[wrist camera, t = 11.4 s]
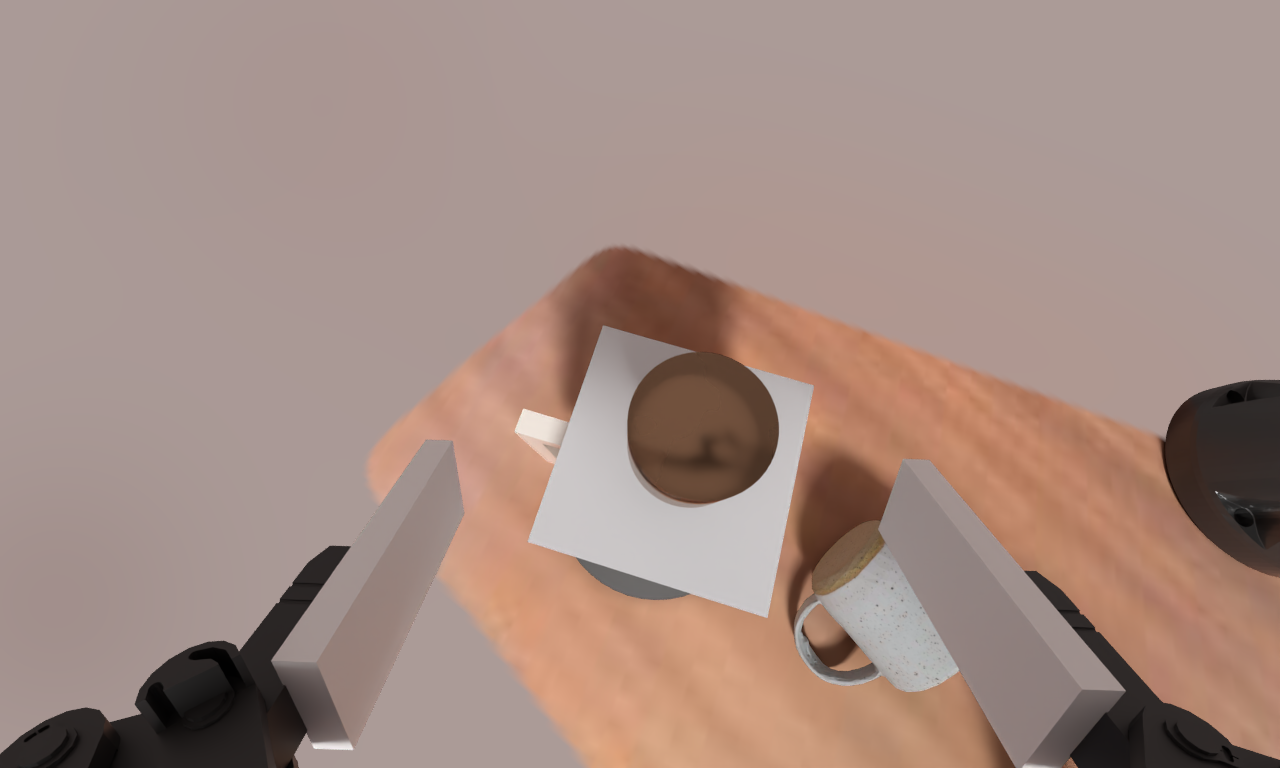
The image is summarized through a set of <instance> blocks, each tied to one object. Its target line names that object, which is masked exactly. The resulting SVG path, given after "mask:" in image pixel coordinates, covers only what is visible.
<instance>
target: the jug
mask: <svg viewBox="0 0 1280 768" xmlns="http://www.w3.org/2000/svg"><path fill="white" fill-rule="evenodd" d="M691 352H695V351H692V350H688V349H685V348H681V347H678V346H674V345H671V344H667V343H664V342H660V341H657V340H653V339H650V338H646V337H643V336H639V335H636V334H632V333H629V332H625V331H622V330H618V329H615V328H611V327H608V326H604V325H603V327H602V330H601V333H600V336H599V339H598V342H597V344H596V347H595V350H594V353H593V356H592V359H591V362H590V365H589V367H588V370H587V373H586V376H585V379H584V382H583V385H582V387H581V390H580V393H579V396H578V399H577V402H576V405H575V407H574V410H573V413H572V416H571V419H570V422H566V421H563V420H559V419H556V418H553V417H549V416H546V415H543V414H539V413H536V412H533V411H529V410H526V409H523V411H522V413H521V416H520V419H519V421H518V424H517V427H516V429H515V433H516V434H517V435H519V436H520V437H521V438H522V439H523V440H524V441H525V442H526V443H527V444H528V445H530V446H531V447H532V448H533V449H534V450H535V451H536V452H537V453H538V454H539V455H541V456H542V457H543V458H544V459H545V460H546V461H547V462H550V463H553V464H555V465H554V468H553V470H552V473H551V476H550V479H549V482H548V485H547V488H546V491H545V493H544V496H543V499H542V502H541V505H540V508H539V511H538V513H537V516H536V519H535V522H534V525H533V528H532V531H531V533H530V536H529V539H528V542H530V543H533V544H536V545H539V546H542V547H545V548H549V549H552V550H555V551H558V552H561V553H564V554H568V555H571V556H574V557H577V558H580V559H583V560H586V561H590V562H593V563H596V564H599V565H602V566H605V567H608V568H612V569H615V570H618V571H621V572H624V573H627V574H631V575H634V576H637V577H640V578H643V579H646V580H649V581H653V582H656V583H659V584H662V585H665V586H668V587H671V588H675V589H678V590H681V591H684V592H687V593H690V594H693V595H697V596H700V597H703V598H706V599H709V600H712V601H716V602H719V603H722V604H725V605H728V606H731V607H734V608H738V609H741V610H744V611H747V612H750V613H753V614H756V615H760V616H763V617H766V618H767V617H768V612H769V607H770V602H771V597H772V592H773V587H774V582H775V577H776V572H777V567H778V562H779V557H780V552H781V547H782V542H783V537H784V532H785V527H786V522H787V517H788V513H789V508H790V503H791V498H792V493H793V488H794V483H795V478H796V473H797V468H798V463H799V458H800V453H801V448H802V443H803V438H804V433H805V428H806V423H807V418H808V413H809V408H810V403H811V398H812V393H813V388H814V385H810V384H807V383H803V382H800V381H796V380H793V379H789V378H786V377H782V376H779V375H775V374H772V373H768V372H765V371H761V370H758V369H754V368H751V367H747V366H745V367H747V368H748V369H749V370H751V371H752V372H753V373H754V374H755V375H756V376H757V377H758V378H759V379H760V380H761V381H762V383H763V384H764V385H765V387H766V388H767V390H768V391H769V393H770V395H771V397H772V399H773V402H774V404H775V407H776V411H777V415H778V421H779V439H778V445H777V449H776V452H775V455H774V457H773V460H772V462H771V464H770V466H769V467H768V469H767V470H766V472H765V473H764V474H763V475H762V477H761V478H760V479H759V480H758V481H757V482H756V483H755V484H754V485H752V486H751V487H750V488H748V489H747V490H745V491H744V492H742V493H740V494H737V495H735V496H733V497H730V498H727V499H725V500H722V501H719V502H716V503H713V504H710V505H707V506H703V507H698V508H684V507H678V506H673V505H670V504H668V503H665V502H663V501H661V500H659V499H657V498H656V497H655V496H653V495H652V494H650V493H649V492H648V491H647V490H646V489H645V488H644V487H643V486H642V484H641V483H640V482H639V481H638V479H637V477H636V476H635V474H634V472H633V470H632V467H631V465H630V461H629V457H628V451H627V419H628V410H629V406H630V402H631V399H632V397H633V394H634V392H635V390H636V388H637V387H638V385H639V383H640V382H641V381H642V379H643V378H644V377H645V376H646V375H647V374H648V373H649V372H650V371H651V370H652V369H653V368H654V367H656V366H657V365H658V364H660V363H662V362H663V361H665V360H667V359H669V358H672V357H674V356H677V355H681V354H685V353H691Z"/></svg>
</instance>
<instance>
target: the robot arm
mask: <svg viewBox="0 0 1280 768" xmlns="http://www.w3.org/2000/svg"><path fill="white" fill-rule="evenodd" d="M1165 454H1166V463H1167V468H1168V473H1169V476H1170V479H1171V482H1172V485H1173V487H1174V490H1175V492H1176V494H1177V496H1178V498H1179V500H1180V502H1181V504H1182V505H1183V507H1184V509H1185V510H1186V512H1187V513H1188V515H1189V516H1190V517H1191V519H1192V520H1193V522H1194V523H1195V524H1196V525H1197V526H1198V528H1199V529H1200V530H1201V531H1202V532H1203V533H1204V534H1205V535H1206V536H1207V537H1208V538H1209V539H1210V540H1211V541H1212V542H1213V543H1214V544H1215V545H1217V546H1218V547H1219V548H1220V549H1222V550H1223V551H1224V552H1225V553H1227V554H1228V555H1230V556H1231V557H1233V558H1234V559H1236V560H1237V561H1239V562H1241V563H1243V564H1244V565H1246V566H1248V567H1250V568H1253V569H1255V570H1257V571H1260V572H1262V573H1265V574H1268V575H1272V576H1275V577H1280V380H1254V381H1244V382H1238V383H1234V384H1229V385H1225V386H1221V387H1217V388H1213V389H1209V390H1206V391H1203V392H1200V393H1198V394H1196V395H1194V396H1192V397H1191V398H1189V399H1188V400H1187V401H1185V402H1184V403H1183V404H1182V405H1181V406H1180V408H1179V409H1178V410H1177V411H1176V413H1175V414H1174V416H1173V418H1172V420H1171V422H1170V424H1169V427H1168V431H1167V435H1166V443H1165ZM463 515H464V508H463V502H462V495H461V489H460V483H459V477H458V471H457V465H456V458H455V452H454V446H453V441H448V440H425V442H424V443H423V445H422V446H421V448H420V449H419V450H418V452H417V453H416V455H415V456H414V457H413V459H412V460H411V462H410V463H409V465H408V466H407V467H406V469H405V470H404V472H403V473H402V475H401V476H400V477H399V479H398V480H397V482H396V483H395V485H394V486H393V487H392V489H391V490H390V492H389V493H388V495H387V496H386V497H385V499H384V500H383V502H382V503H381V505H380V506H379V507H378V509H377V510H376V512H375V513H374V515H373V516H372V517H371V519H370V521H369V522H368V523H367V525H366V526H365V527H364V529H363V530H362V532H361V533H360V534H359V536H358V537H357V539H356V541H355V542H354V543H353V544H352V546H329V547H328V548H327V549H325V550H324V551H323V552H321V553H320V554H319V555H317V556H316V557H315V558H313V559H312V560H311V561H310V562H308V563H307V565H306V566H305V567H304V568H303V570H302V571H301V572H300V574H299V575H298V576H297V578H296V579H295V580H294V581H293V585H292V586H291V587H289V588H288V589H287V590H286V592H285V593H284V594H283V596H282V597H281V598H280V602H279V603H276V605H275V606H274V607H273V609H272V610H271V611H270V612H269V614H268V615H267V616H266V618H265V619H264V620H263V621H262V623H261V624H260V626H259V627H258V628H257V629H256V631H255V632H254V633H253V635H252V636H251V637H250V638H249V640H248V641H247V642H246V643H245V645H244V646H243V647H242V649H241V650H240V651H238V649H237V647H236V645H234V644H231V643H228V642H226V641H215V642H206V643H203V644H200V645H197V646H194V647H191V648H188V649H187V650H185V651H183V652H181V653H180V654H178V655H176V656H174V657H173V658H171V659H169V660H168V661H167V662H165V663H164V664H163V665H162V666H161V667H159V668H158V669H157V670H156V671H155V672H153V673H152V674H151V676H150V677H149V678H148V679H147V681H146V682H145V683H144V685H143V686H142V687H141V688H140V690H139V693H138V696H137V699H136V702H135V705H136V707H137V708H138V709H139V711H140V712H141V714H140V715H136V716H132V717H128V718H125V719H121V720H117V721H113V722H109V721H108V720H107V719H106V718H105V717H104V715H103V714H102V713H101V711H100V710H96V709H91V708H81V709H76V710H71V711H67V712H64V713H62V714H60V715H57V716H55V717H53V718H51V719H48V720H46V721H44V722H42V723H41V724H39V725H37V726H36V727H34V728H33V729H31V730H30V731H28V732H26V733H25V734H23V735H22V736H20V737H19V738H18V739H17V740H16V741H15V742H14V743H12V744H11V745H10V746H9V747H8V748H7V749H6V750H4V751H3V752H2V753H1V754H0V768H299V767H298V762H297V760H296V758H295V756H294V754H295V752H296V750H297V748H298V746H299V745H300V743H301V741H302V739H303V738H304V736H305V734H306V733H307V735H308V737H309V739H310V741H311V743H312V745H313V747H314V749H341V750H354V748H355V746H356V744H357V742H358V739H359V737H360V735H361V733H362V731H363V729H364V727H365V725H366V722H367V720H368V718H369V716H370V714H371V712H372V710H373V708H374V705H375V703H376V701H377V699H378V697H379V695H380V693H381V690H382V688H383V686H384V684H385V682H386V680H387V678H388V675H389V673H390V671H391V669H392V667H393V665H394V663H395V661H396V658H397V656H398V654H399V652H400V650H401V648H402V646H403V643H404V641H405V639H406V637H407V635H408V633H409V631H410V628H411V626H412V624H413V622H414V620H415V618H416V616H417V613H418V611H419V609H420V607H421V605H422V603H423V601H424V599H425V596H426V594H427V592H428V590H429V588H430V586H431V584H432V582H433V579H434V577H435V575H436V573H437V571H438V569H439V567H440V564H441V562H442V560H443V558H444V556H445V554H446V552H447V549H448V547H449V545H450V543H451V541H452V539H453V537H454V535H455V532H456V530H457V528H458V526H459V524H460V522H461V520H462V517H463ZM878 530H879V532H880V534H881V535H882V537H883V539H884V541H885V542H886V544H887V546H888V548H889V549H890V551H891V553H892V554H893V556H894V558H895V560H896V561H897V563H898V565H899V567H900V568H901V570H902V572H903V574H904V575H905V577H906V579H907V580H908V582H909V584H910V586H911V587H912V589H913V591H914V593H915V594H916V596H917V598H918V599H919V601H920V603H921V605H922V606H923V608H924V610H925V612H926V613H927V615H928V617H929V619H930V620H931V622H932V624H933V625H934V627H935V629H936V631H937V632H938V634H939V636H940V638H941V639H942V641H943V643H944V644H945V646H946V648H947V650H948V651H949V653H950V655H951V657H952V658H953V660H954V662H955V664H956V665H957V667H958V669H959V670H960V672H961V674H962V676H963V677H964V679H965V681H966V683H967V684H968V686H969V688H970V689H971V691H972V693H973V695H974V696H975V698H976V700H977V702H978V703H979V705H980V707H981V709H982V710H983V712H984V714H985V715H986V717H987V719H988V721H989V722H990V724H991V726H992V728H993V729H994V731H995V733H996V735H997V736H998V738H999V740H1000V741H1001V743H1002V745H1003V747H1004V748H1005V750H1006V752H1007V754H1008V755H1009V757H1010V759H1011V760H1012V762H1013V764H1014V766H1015V767H1016V768H1062V766H1063V765H1064V764H1065V763H1066V762H1067V761H1068V759H1069V758H1070V757H1071V758H1072V759H1073V761H1074V762H1075V764H1076V765H1077V767H1078V768H1280V760H1278V759H1275V758H1272V757H1269V756H1265V755H1262V754H1259V753H1256V752H1253V751H1250V750H1247V749H1244V748H1240V747H1237V746H1234V745H1232V744H1231V743H1230V742H1229V741H1228V739H1227V738H1225V737H1224V736H1223V735H1222V734H1221V733H1219V732H1218V731H1217V730H1216V729H1215V728H1213V727H1212V726H1211V725H1210V724H1209V723H1207V722H1205V721H1204V720H1202V719H1201V718H1199V717H1197V716H1196V715H1194V714H1192V713H1191V712H1189V711H1187V710H1184V709H1182V708H1179V707H1177V706H1174V705H1172V704H1168V703H1163V702H1162V701H1161V700H1160V699H1159V698H1158V697H1157V696H1156V695H1155V694H1154V693H1153V692H1152V690H1151V689H1150V688H1149V687H1148V686H1147V685H1146V684H1145V683H1144V682H1143V680H1142V679H1141V678H1140V677H1139V676H1138V675H1137V674H1136V673H1135V672H1134V670H1133V669H1132V668H1131V667H1130V666H1129V665H1128V664H1127V663H1126V661H1125V660H1124V659H1123V658H1122V657H1121V656H1120V655H1119V654H1118V653H1117V651H1116V650H1115V649H1114V648H1113V647H1112V646H1111V645H1110V644H1109V643H1108V641H1107V640H1106V639H1105V638H1104V637H1103V636H1102V635H1101V634H1100V633H1099V632H1096V631H1095V627H1094V626H1093V625H1092V624H1091V623H1090V621H1089V620H1088V619H1087V618H1086V617H1085V616H1084V615H1081V614H1080V612H1079V611H1080V610H1079V609H1078V608H1077V607H1076V606H1075V605H1074V604H1073V602H1072V601H1071V600H1070V599H1069V598H1068V597H1067V596H1066V595H1065V594H1064V592H1063V591H1062V590H1061V589H1059V588H1058V587H1057V586H1055V585H1054V584H1053V583H1051V582H1050V581H1049V580H1047V579H1046V578H1045V577H1043V576H1042V575H1041V574H1039V573H1038V572H1037V571H1023V569H1022V568H1021V567H1020V566H1019V565H1018V564H1017V562H1016V561H1015V560H1014V559H1013V558H1012V557H1011V555H1010V554H1009V553H1008V552H1007V551H1006V549H1005V548H1004V547H1003V546H1002V545H1001V544H1000V542H999V541H998V540H997V539H996V538H995V537H994V535H993V534H992V533H991V532H990V531H989V530H988V528H987V527H986V526H985V525H984V524H983V522H982V521H981V520H980V519H979V518H978V517H977V515H976V514H975V513H974V512H973V511H972V510H971V508H970V507H969V506H968V505H967V504H966V503H965V501H964V500H963V499H962V498H961V497H960V495H959V494H958V493H957V492H956V491H955V490H954V488H953V487H952V486H951V485H950V484H949V483H948V481H947V480H946V479H945V478H944V477H943V476H942V474H941V473H940V472H939V471H938V470H937V468H936V467H935V466H934V465H933V464H932V463H931V461H930V460H918V459H903V461H902V464H901V467H900V469H899V472H898V475H897V478H896V481H895V483H894V486H893V489H892V492H891V495H890V497H889V500H888V503H887V506H886V509H885V511H884V514H883V517H882V520H881V523H880V525H879V528H878Z"/></svg>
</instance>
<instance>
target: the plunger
mask: <svg viewBox="0 0 1280 768" xmlns="http://www.w3.org/2000/svg"><path fill="white" fill-rule="evenodd" d="M778 439H779V421H778V415H777V411H776V407H775V404H774V402H773V399H772V397H771V395H770V393H769V391H768V390H767V388H766V387H765V385H764V384H763V383H762V381H761V380H760V379H759V378H758V377H757V376H756V375H755V374H754V373H753V372H752V371H751V370H749V369H748V368H747V367H745V366H744V365H742V364H741V363H739V362H737V361H735V360H733V359H731V358H729V357H726V356H723V355H719V354H715V353H708V352H691V353H685V354H681V355H677V356H674V357H672V358H669V359H667V360H665V361H663V362H662V363H660V364H658V365H657V366H656V367H654V368H653V369H652V370H651V371H650V372H649V373H648V374H647V375H646V376H645V377H644V378H643V379H642V381H641V382H640V383H639V385H638V387H637V388H636V390H635V392H634V394H633V397H632V399H631V402H630V406H629V410H628V419H627V451H628V457H629V461H630V465H631V467H632V470H633V472H634V474H635V476H636V477H637V479H638V481H639V482H640V483H641V484H642V486H643V487H644V488H645V489H646V490H647V491H648V492H649V493H650V494H652V495H653V496H655V497H656V498H657V499H659V500H661V501H663V502H665V503H668V504H670V505H673V506H678V507H684V508H698V507H703V506H707V505H710V504H713V503H716V502H719V501H722V500H725V499H727V498H730V497H733V496H735V495H737V494H740V493H742V492H744V491H745V490H747V489H748V488H750V487H751V486H752V485H754V484H755V483H756V482H757V481H758V480H759V479H760V478H761V477H762V475H763V474H764V473H765V472H766V470H767V469H768V467H769V466H770V464H771V462H772V460H773V457H774V455H775V452H776V449H777V445H778Z"/></svg>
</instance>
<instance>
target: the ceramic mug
mask: <svg viewBox="0 0 1280 768" xmlns="http://www.w3.org/2000/svg"><path fill="white" fill-rule="evenodd" d="M880 523H881V521H880V520H871V521H867V522H864V523H862V524H860V525H858V526H856V527H855V528H853V529H852V530H850V531H849V532H848V533H846V534H845V535H844V536H843V537H841V538H840V539H839V540H838V541H837V542H836V543H835V544H834V545H833V546H832V547H831V548H830V549H829V550H828V551H827V552H826V553H825V554H824V556H823V557H822V558H821V560H820V561H819V562H818V564H817V566H816V568H815V569H814V572H813V574H812V589H813V591H814V594H813V595H811V596H810V597H808V598H807V599H806V600H805V601H804V603H803V604H802V606H801V607H800V609H799V610H798V612H797V614H796V618H795V621H794V639H795V644H796V648H797V650H798V652H799V655H800V656H801V658H802V659H803V661H804V662H805V664H806V665H807V666H808V668H809V669H810V670H811V671H812V672H813V673H814V674H816V675H817V676H818V677H819V678H821V679H822V680H824V681H826V682H829V683H832V684H837V685H842V686H852V685H859V684H863V683H866V682H868V681H871V680H874V679H876V678H878V677H880V676H884V677H886V678H887V679H888V680H889V682H890V683H891V684H892V685H894V686H895V687H896V688H897V689H900V690H902V691H905V692H916V691H924V690H926V689H929V688H932V687H934V686H937V685H939V684H941V683H942V682H944V681H945V680H947V679H948V678H950V677H952V676H953V675H954V674H956V673H957V672H958V671H960V670H959V669H958V667H957V665H956V664H955V662H954V660H953V658H952V657H951V655H950V653H949V651H948V650H947V648H946V646H945V644H944V643H943V641H942V639H941V638H940V636H939V634H938V632H937V631H936V629H935V627H934V625H933V624H932V622H931V620H930V619H929V617H928V615H927V613H926V612H925V610H924V608H923V606H922V605H921V603H920V601H919V599H918V598H917V596H916V594H915V593H914V591H913V589H912V587H911V586H910V584H909V582H908V580H907V579H906V577H905V575H904V574H903V572H902V570H901V568H900V567H899V565H898V563H897V561H896V560H895V558H894V556H893V554H892V553H891V551H890V549H889V548H888V546H887V544H886V542H885V541H884V539H883V537H882V535H881V534H880V532H879V530H878V528H879V525H880ZM818 604H822V605H823V606H824V608H825V609H826V610H827V611H828V612H829V614H830V615H831V616H832V617H833V618H834V619H835V620H836V621H837V622H838V623H839V624H840V625H841V626H842V627H843V628H844V630H845V631H846V632H847V633H848V634H849V636H850V637H851V638H852V639H853V640H854V642H855V643H856V644H857V645H858V646H859V647H860V648H861V650H862V651H863V652H864V653H865V655H866V656H867V657H868V658H869V659H870V660H871V661H872V663H871V664H869V665H867V666H865V667H862V668H859V669H855V670H851V671H837V670H832V669H830V668H829V667H827V666H826V665H824V664H823V663H822V662H821V660H820V659H819V658H818V656H817V655H816V654H815V653H814V651H813V650H812V648H811V647H810V645H809V641H808V638H807V637H805V636H804V635H803V633H802V632H801V628H802V624H803V621H804V619H805V618H806V616H807V615H808V614H809V612H810V611H811V610H812V609H813V608H815V606H816V605H818Z"/></svg>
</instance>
